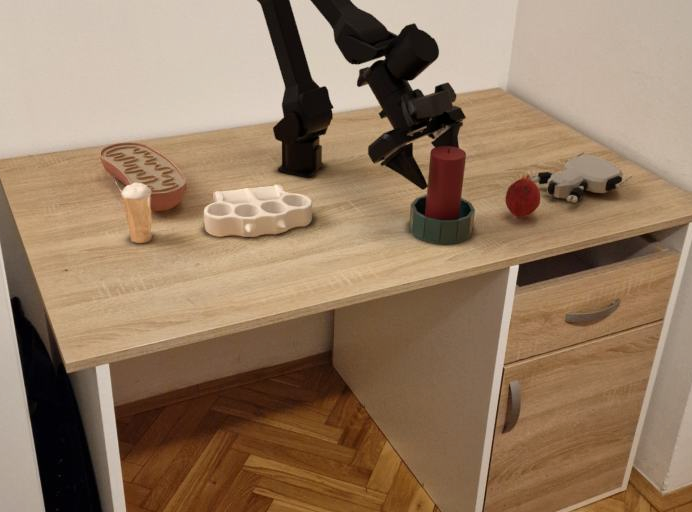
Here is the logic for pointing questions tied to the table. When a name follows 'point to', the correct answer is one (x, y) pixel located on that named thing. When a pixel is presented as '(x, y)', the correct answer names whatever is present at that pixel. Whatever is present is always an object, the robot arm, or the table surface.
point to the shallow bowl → (441, 223)
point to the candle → (445, 183)
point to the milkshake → (138, 211)
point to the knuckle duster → (256, 212)
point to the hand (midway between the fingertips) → (443, 179)
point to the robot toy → (581, 177)
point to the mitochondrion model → (145, 172)
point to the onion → (522, 197)
